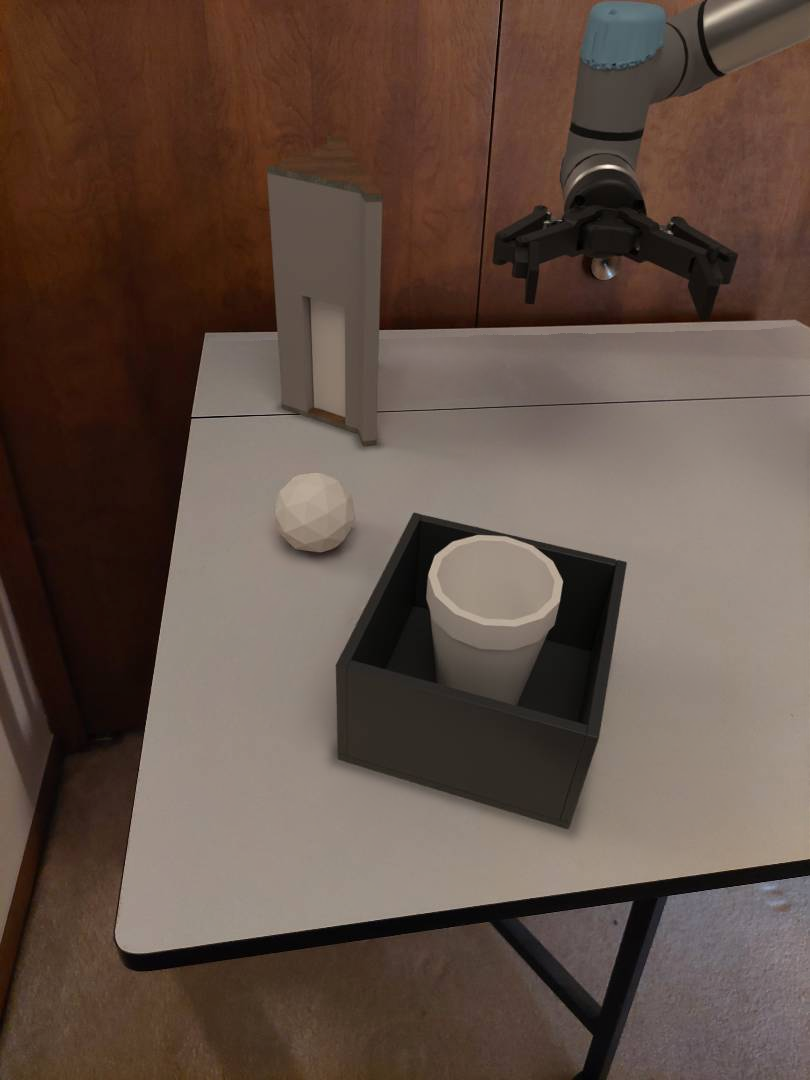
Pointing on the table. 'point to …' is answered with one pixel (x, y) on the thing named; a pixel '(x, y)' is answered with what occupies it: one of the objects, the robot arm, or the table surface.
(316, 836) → the table surface
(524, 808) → the waste bin
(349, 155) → the cabinet
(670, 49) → the robot arm
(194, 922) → the table surface
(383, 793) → the table surface
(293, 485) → the geometric ball
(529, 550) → the foam cup
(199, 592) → the table surface
